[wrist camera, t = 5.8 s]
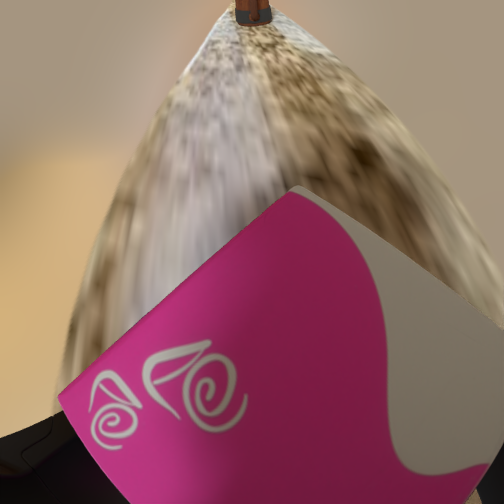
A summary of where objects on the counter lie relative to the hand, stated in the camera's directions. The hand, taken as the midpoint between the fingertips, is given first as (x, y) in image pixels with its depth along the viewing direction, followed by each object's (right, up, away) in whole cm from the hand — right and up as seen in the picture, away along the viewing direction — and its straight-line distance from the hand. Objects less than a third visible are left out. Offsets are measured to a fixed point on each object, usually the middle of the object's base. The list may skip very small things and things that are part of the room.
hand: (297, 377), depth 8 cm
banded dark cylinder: (-1, +57, +52) cm, 77 cm away
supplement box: (+1, -5, +5) cm, 7 cm away
